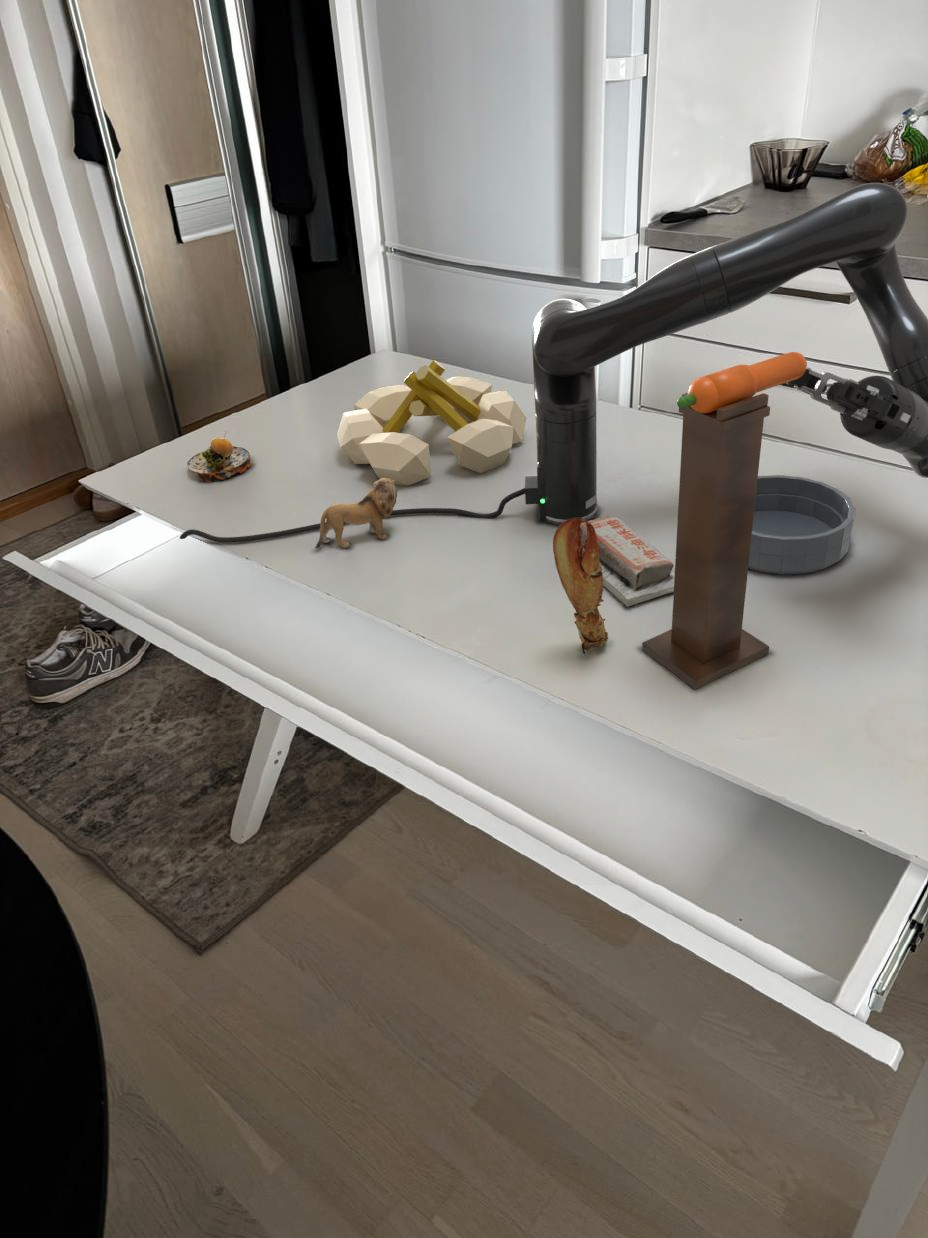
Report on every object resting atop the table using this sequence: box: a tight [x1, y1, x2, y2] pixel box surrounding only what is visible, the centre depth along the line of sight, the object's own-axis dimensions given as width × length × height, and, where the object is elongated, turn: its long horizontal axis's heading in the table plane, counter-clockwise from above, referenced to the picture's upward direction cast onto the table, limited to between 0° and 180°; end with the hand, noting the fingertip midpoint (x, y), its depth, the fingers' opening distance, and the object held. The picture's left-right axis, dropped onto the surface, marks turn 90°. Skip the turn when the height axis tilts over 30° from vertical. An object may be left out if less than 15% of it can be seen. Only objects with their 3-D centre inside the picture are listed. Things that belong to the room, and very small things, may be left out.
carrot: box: [676, 351, 808, 413], centre depth 101 cm, size 18×4×4 cm, turn 120°
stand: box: [641, 392, 771, 690], centre depth 110 cm, size 12×10×34 cm
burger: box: [187, 430, 253, 483], centre depth 176 cm, size 12×12×8 cm
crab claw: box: [552, 517, 609, 655], centre depth 117 cm, size 7×5×20 cm
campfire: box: [336, 359, 527, 487], centre depth 174 cm, size 35×34×17 cm
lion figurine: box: [314, 478, 398, 549], centre depth 149 cm, size 15×5×9 cm, turn 116°
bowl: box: [748, 474, 856, 575], centre depth 139 cm, size 20×20×6 cm
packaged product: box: [580, 515, 675, 608], centre depth 136 cm, size 18×5×10 cm
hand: (813, 379), depth 107 cm, fingers open, 8 cm apart
